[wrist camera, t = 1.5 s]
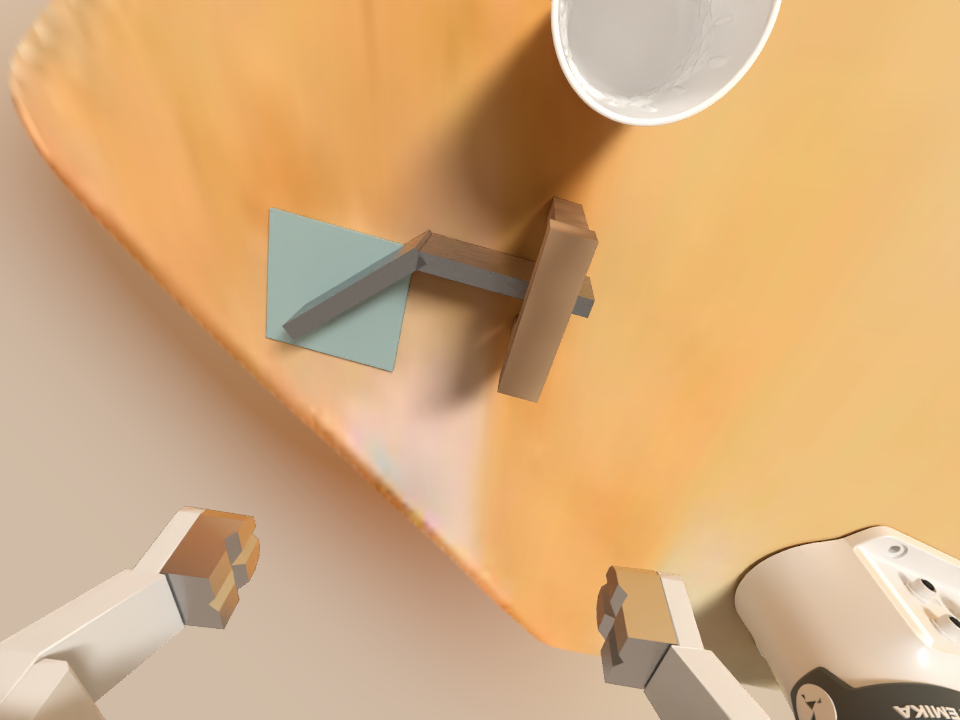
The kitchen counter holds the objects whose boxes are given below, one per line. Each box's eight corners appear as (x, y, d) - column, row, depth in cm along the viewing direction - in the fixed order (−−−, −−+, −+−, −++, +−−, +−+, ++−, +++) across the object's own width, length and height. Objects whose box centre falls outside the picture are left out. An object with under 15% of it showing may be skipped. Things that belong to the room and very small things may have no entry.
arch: (586, 206, 31) (598, 242, 24) (538, 340, 35) (537, 403, 28) (549, 195, 30) (550, 228, 24) (506, 331, 35) (497, 392, 28)
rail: (590, 274, 33) (595, 297, 29) (549, 380, 37) (550, 410, 33) (314, 197, 32) (286, 211, 29) (306, 312, 37) (281, 336, 33)
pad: (416, 248, 33) (415, 249, 33) (393, 369, 38) (392, 371, 38) (271, 207, 33) (269, 208, 33) (268, 335, 38) (266, 337, 38)
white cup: (734, -39, 24) (839, -105, 15) (660, 131, 28) (711, 153, 19) (581, -91, 24) (602, -190, 15) (529, 88, 28) (522, 90, 19)
